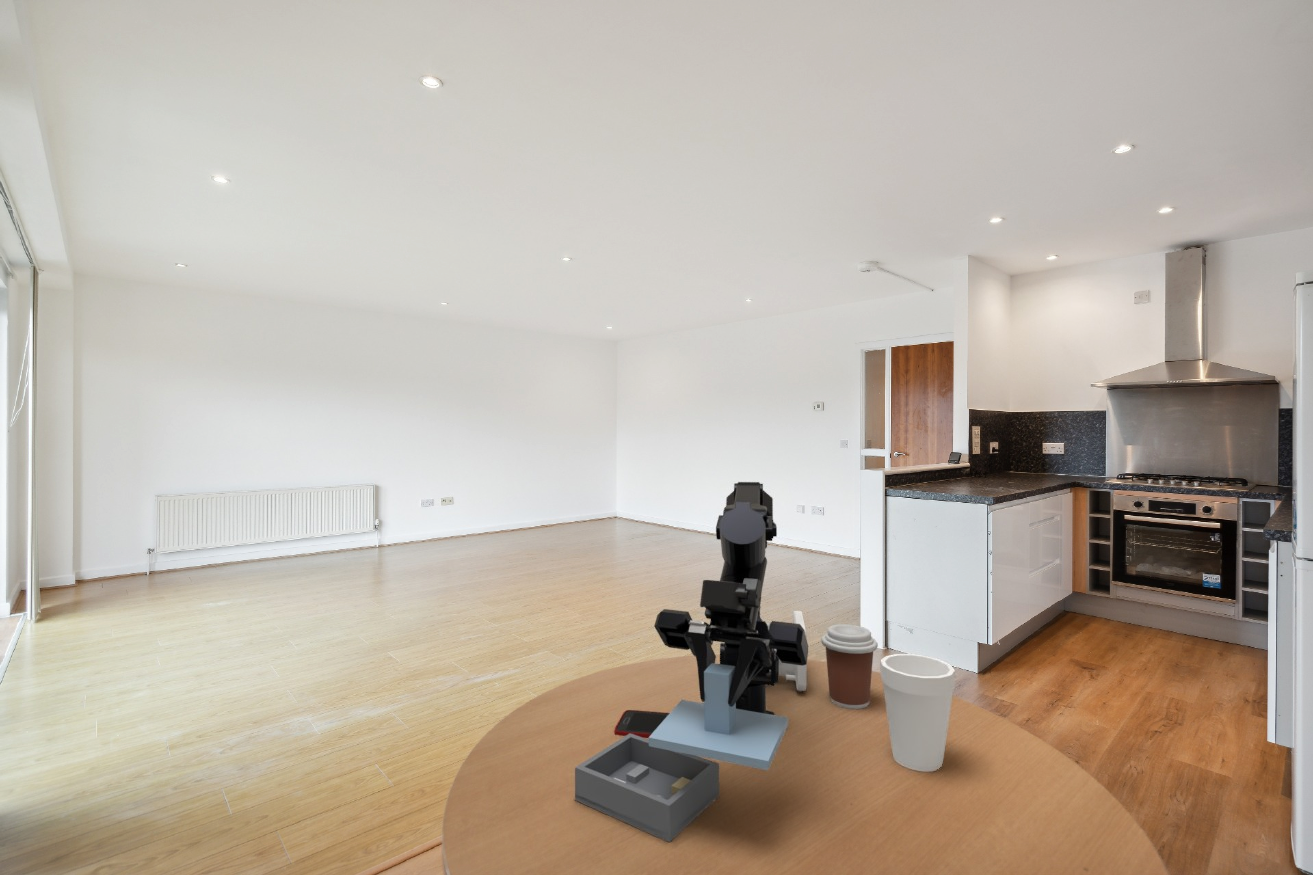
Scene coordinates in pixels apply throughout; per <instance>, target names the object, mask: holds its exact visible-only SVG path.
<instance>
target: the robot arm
mask: <svg viewBox="0 0 1313 875" xmlns="http://www.w3.org/2000/svg"><path fill="white" fill-rule="evenodd" d="M725 501H726V502H725V507H724V508H723V513H722V514H720V515H718V518H717V522H716V526H715V536H716V540H720V546H721V555H722V556H721V557H722V559H723V566H722V571H721V574H720V578H719V580H711V579H703V580H702V584H701V585H702V586H701V594H700V603H699V607H700V608H705V610H704V616H705V618H706V619H707V620H709V623H707V622H706V621H700V620H693V618H692V616H691V614H690V612H689V611H686V610H677V609H668V608H663V609H662V610H661V611H659V613H658V614H657V615H656V619H655V621H654V626H653V627H654V628H655V630H656V632H657V634H658V636H659V637H660V639H661V640H662V643H663V644H664V646H665V647H668V648H670V649H677V650H686V651H688V650H690V652H691V654H692V655H693V656H694V657H695V659H696V665H697V675H698V676H697V677H698V687H699V698H700V700H701V703H704V701H705V691H704V671H705V670H706V669H707V668H708V667H709V666H710V664H711V663H715V664H716V658H717V656H716V653H715V651H714V649H713V647H712V645H714V642H719V643H720V645H719V664H722V665H730V666H735V672H734V676H733V679H732V683H731V687H730V691H729V698H728V704H729V706H730V707H733V706H734V704H735V703H736V709H740V710H746V711H752V712H758V713H764V714H770V715H775V712H774V711H770V710H767V694H766V692H767V687H766V686H771V687H775V684H777V683H780V682H779V680H780V679H779V678H780V677H779V676H780V675H779V660H780V661H781V662H782V663H787V664H794V665H802V666H803V665H806V664H808V656H809V644H808V639H807V634H806V635H805V631H804V629H803V628H802V626H801V625H800V624H795V623H793V622H787V621H786V622H785V621H784V622H783V621H776V620H771V622H769V623H770V626H769V630H768V626H767V624H766V621H765V620H763V619H762V617H761V608H762V606H761V602H762V594H763V593H762V592H763V586H764V581H765V576H766V571H767V570H766V569H767V564H768V559H767V557H766V549H767V548H768V542H772V541H773V539H774V537H777V535H778V534H777V532H778V531H777V523H776V522H774V517H773V516H774V515H773V514H774V510H773V509H774V508H773V506H774V505H773V504H774V502H773V501H774V499H773V497H772V496H771V495H769V493H767V491H765V490H764V483H760V482H759V481H738V482H737V483H735V482H734V483H733V491H731V493H730V494H729V495H727V496H726V499H725ZM774 649H777V650H776V651H775V650H774ZM770 670H771V671H770Z"/></svg>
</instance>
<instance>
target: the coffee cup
mask: <svg viewBox="0 0 1313 875" xmlns="http://www.w3.org/2000/svg"><path fill="white" fill-rule="evenodd" d="M821 644H822V646H823V647H825V656H826V658H825V659H826V667H827V669H826V670H827V678H828V679H827V680H828V690H829V693H828V694H829V700H830V699H831V701H833V703H835V704H836V705H835V704H834V705H835V706H837V705H838V706H837V707H840V706H841V707H840V708H843V709H849V710H862V709H865V708H867V707H869V706H868V705H870V699H871V698H870V697H871V686H872V685H871V683H872V674H873V673H872V672H873V661H874V652H875V651H877V650H878V647H879V646H878V644H879V643H878V641H877V640H876V639H875V638H873V636H872V632H871V631H870V630H869V629H868V628H866V627H863V626H861V625H854V624H848V623H847V624H845V623H844V624H842V623H841V624H834V625H831V626H829V627H828V628H827V632H826V633H825V634H824V635H823V636H822V637H821ZM831 701H830V702H831ZM833 703H832V704H833Z"/></svg>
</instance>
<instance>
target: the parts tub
mask: <svg viewBox="0 0 1313 875" xmlns="http://www.w3.org/2000/svg"><path fill="white" fill-rule="evenodd" d="M719 796H720V763H719V762H716V761H713V760H711V759H710V760H709V759H708V758H705V757H700V756H695V755H690V754H685V753H680V752H675V751H670V750H666V749H661V748H656V747H651V746H649V738H642V737H640V736H637V735H634V734H631V733H629V734H628V735H626V736H622V738H620V739H618V740H616V741H615V742H614V743H612V744H610V745H609V746H607V747H605V748H604V749H602V750H601V751H599V752H598V753H595V754H594V755H593V756H591V757H590V758H588V759H586V760H584V761H583V762H582V763H580V764H578V765H576V766H575V767H574V801H576V802H579V803H580V804H582V805H585V806H587V807H590V808H592V809H593V810H596V811H598V812H601V813H603V814H605V815H607V816H610V817H611V818H614V819H616V820H619V821H620V822H623V823H624V824H627V825H629V826H631V827H634V828H636V829H639V830H641V831H643V832H645V833H648V834H650V835H652V836H654V837H656V838H659V839H660V840H661V839H662V840H663V841H664V842H665V841H666V842H668V843H671V842H672V841H673V840H674V839H675V838H676V837H677V836H678V835H680V833H681V832H683V830H684V829H685V828H687V827H688V826H690V824H691V823H692V822H693V821H694V820H695V819H696V818H697V817H698V816H699V815H701V814H702V813H703V812H704V811H705V810H706V809H707V808H708V807H709V806H711V804H712V803H714V801H715V800H717V799H718V798H719Z"/></svg>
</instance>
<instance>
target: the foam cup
mask: <svg viewBox="0 0 1313 875" xmlns="http://www.w3.org/2000/svg"><path fill="white" fill-rule="evenodd" d="M880 679H881V682H882V686H883V693H884V701H885V708H886V714H887V715H886V716H887V725H888V730H889V738H890V746H891V751H892V756H893V760H894V761H895V762H896V763H898V764H899V765H900V766H902V767H904V768H907V769H909V770H912V771H917V772H925V773H926V772H934V771H938V770H940V769H941V768H942V766H943V765H942V764H943V761H944V758H945V752H946V751H945V749H946V742H947V737H948V735H947V734H948V729H949V722H950V713H951V707H952V699H953V694H954V691H955V689H956V670H955V669H954V667H953V666H952V665H951V664H949V663H948V662H946V661H943V660H942V659H939V658H936V657H935V658H934V657H931V656H927V655H920V654H912V653H894V654H891V655H885V656H884V657H883V658H881V659H880ZM940 767H941V768H940ZM939 768H940V769H939ZM937 769H938V770H937Z"/></svg>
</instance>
